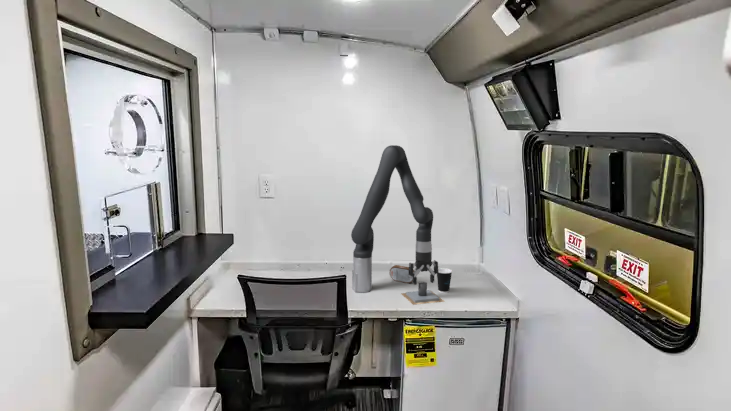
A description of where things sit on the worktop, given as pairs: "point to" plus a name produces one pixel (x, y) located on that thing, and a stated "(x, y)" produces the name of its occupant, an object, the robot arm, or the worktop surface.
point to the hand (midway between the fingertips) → (423, 283)
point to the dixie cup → (444, 279)
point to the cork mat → (421, 302)
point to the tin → (401, 274)
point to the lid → (422, 294)
